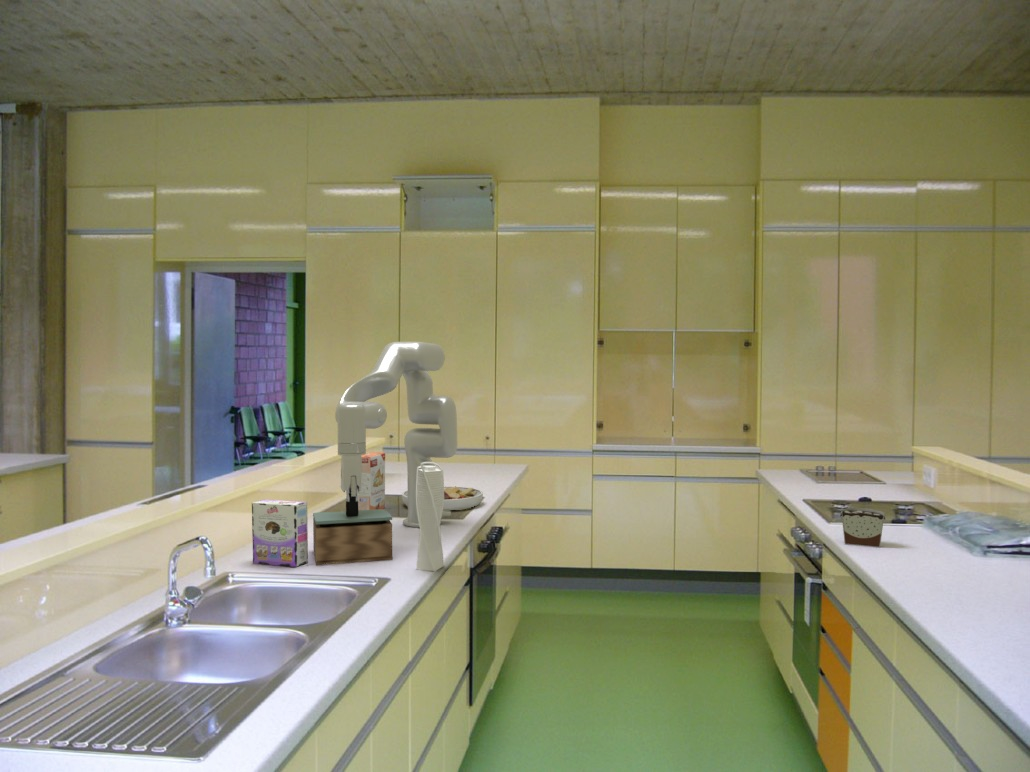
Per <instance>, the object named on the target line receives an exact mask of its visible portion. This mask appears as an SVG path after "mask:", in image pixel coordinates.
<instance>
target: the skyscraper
mask: <svg viewBox="0 0 1030 772" xmlns="http://www.w3.org/2000/svg"><path fill="white" fill-rule="evenodd" d="M423 464H434V465H435V466H431V465H425V466H423ZM424 467H425V469H424ZM419 468H422V469H419ZM444 480H445V479H444V469H443V468H442V466H441V465H440V464H439V463H437V462H434V461H432V462H423V463H421V466H419V467H417V476H416V508H417V516H418V522H419V527H418V528H419V537H418V547H417V557H416V558H417V559H416V560H417V561H416V570H418V571H419V570H420V571H428V572H436V571H437V570H439V569H441V568H444V567H445V562H444V552H443V543H442V542H443V541H442V534H441V533H442V532H441V528H440V525H441V524H440V522H441V523H442V518H443V517H442V512H443V504H444V487H445V482H444ZM441 517H442V518H441Z"/></svg>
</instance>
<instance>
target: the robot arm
mask: <svg viewBox="0 0 1030 772" xmlns="http://www.w3.org/2000/svg"><path fill="white" fill-rule="evenodd" d="M378 356H379V357H378V359H377V360H376V362H375V364H374V366H373V368H372V369H371V371H370V373H368V374H367V375H365V376H364V377H362V378H360V379H359V380H357V381H356V382H354V383H353V384H351V385H350V386H349V387H348V388H347V389H346V390H345V391H344V392H343V394H342V396H341V398H340V399H339V401H338V404H337V406H336V408H335V415H334V418H335V422H336V423H337V455H338V456H341V457H340V458H341V459H340V488H341V491H342V492H343V493H345V494H346V501H345V511H346V516H347V517H355V516H358V492H359V491H360V490H361V478H362V455H365V454H367V453H366V452H367V448H366V447H367V441H366V440H367V434H366V433H367V429H368V430H369V429H370V430H371V429H373V430H374V429H379V428H381V427H382V426H383V425H384V424H385V422H386V420H387V417H388V415H387V410H386V407H385V406H384V405H383V404H381V403H380V402H375V401H368V400H371V399H373V398H374V399H375V398H377V397H381V396H384V395H387V394H389V393H391V392H393V391H394V390H395V389H396V388H397V387H398V384H399V381H400V380H401V377H402V376H403V378H404V380H405V384H406V401H407V402H406V404H407V416H408V419H409V421H410V422H411V423H413V424H416V425H436V426H437V425H438V427H439V428H433V427H415V428H412V429H410V430H408V431H407V432H406V433H405V435H404V440H403V441H404V442H403V444H404V445H403V446H404V450H405V456H406V466H407V469H406V470H407V491H408V506H407V518H404V519H403V520H402V524H403V526H406V527H412V528H420V527H419V522H418V516H417V508H416V476H417V467H419V466H421V463H423V462H433V460H432V459H431V458H437V459H438V458H440V459H441V458H442V459H443V458H445V459H447V458H452V457H453V456H454V455H456V453H457V450H458V422H457V419H458V418H457V407H456V406H457V405H456V404H455V401H454V400H453V398H451V396H448V395H439V394H438V395H437V394H436V395H435V394H434V385H433V378H432V376H431V375H430V373H429V372H436V371H440V370H441V368H442V367H443V366H444V364H445V359H446V358H445V357H446V356H445V351H444V349H443V347H442V346H441V345H440V344H437V343H432V342H425V341H393V342H389V343H388V344H386V345H385V346H384V348H383V349H382V351H381V353H380V355H378ZM425 465H431V466H436V465H434V464H423V466H425ZM419 469H422V468H419ZM424 469H425V467H424ZM451 517H452V511H443V512H442V517H441V519H442V518H451ZM440 523H441V524H442V521H441V522H440Z"/></svg>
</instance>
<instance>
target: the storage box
mask: <svg viewBox="0 0 1030 772" xmlns="http://www.w3.org/2000/svg"><path fill="white" fill-rule="evenodd" d="M312 520H313V521H312V522H313V523H312V524H313V525H312V526H313V527H312V529H313V534H312V535H313V537H312V539H313V543H312V544H313V545H312V546H313V554H314V560H315V565H316V566H320V565H332V564H333V565H334V564H346V563H348V564H349V563H361V562H373V561H387V560H388V561H389V560H393V523H392V521H391V520H384V521H367V522H350V523H333V524H316V523H315V520H314V517H313V516H312Z"/></svg>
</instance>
